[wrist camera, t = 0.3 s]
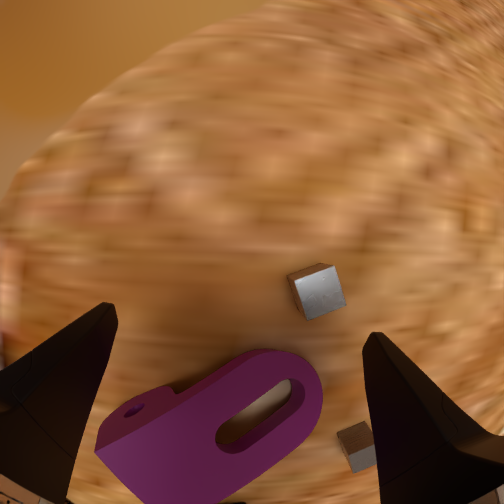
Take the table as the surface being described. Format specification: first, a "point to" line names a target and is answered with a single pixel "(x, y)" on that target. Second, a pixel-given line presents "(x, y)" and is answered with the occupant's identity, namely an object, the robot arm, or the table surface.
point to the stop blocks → (314, 305)
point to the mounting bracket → (208, 431)
